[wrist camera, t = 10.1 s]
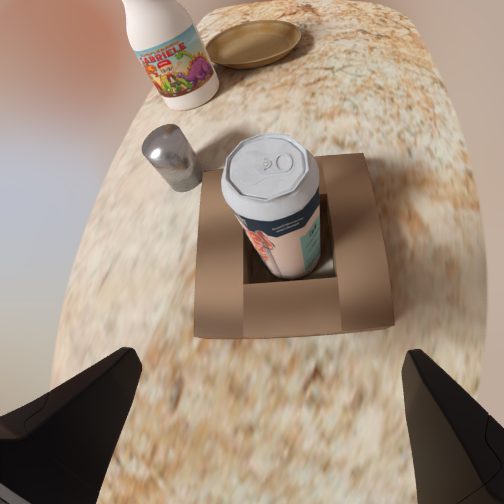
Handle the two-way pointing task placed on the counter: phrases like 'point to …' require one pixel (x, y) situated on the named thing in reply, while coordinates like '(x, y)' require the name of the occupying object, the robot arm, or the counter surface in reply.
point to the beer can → (276, 201)
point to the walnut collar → (302, 291)
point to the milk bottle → (171, 52)
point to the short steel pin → (173, 157)
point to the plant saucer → (253, 44)
